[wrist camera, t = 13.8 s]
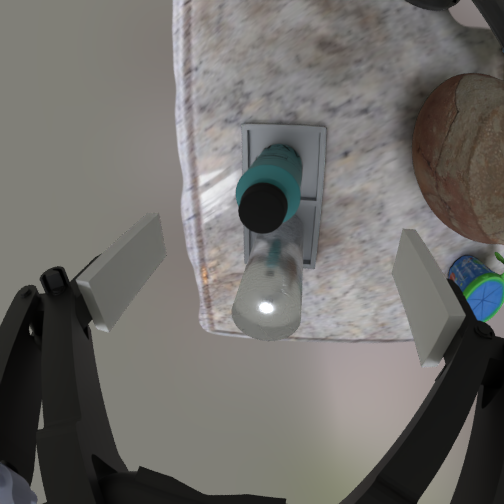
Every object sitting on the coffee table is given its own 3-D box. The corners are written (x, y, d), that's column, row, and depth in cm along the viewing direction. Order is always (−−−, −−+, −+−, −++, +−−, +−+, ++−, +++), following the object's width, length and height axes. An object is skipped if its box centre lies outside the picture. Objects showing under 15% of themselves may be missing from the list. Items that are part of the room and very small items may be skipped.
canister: (305, 211, 43) (304, 292, 26) (302, 251, 47) (297, 343, 30) (259, 208, 44) (229, 286, 27) (259, 248, 48) (233, 337, 31)
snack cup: (483, 227, 39) (510, 255, 30) (497, 264, 42) (521, 293, 33) (422, 277, 46) (439, 313, 38) (442, 308, 49) (457, 343, 40)
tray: (325, 126, 37) (326, 127, 35) (314, 261, 48) (314, 268, 46) (244, 123, 39) (241, 124, 37) (247, 256, 50) (244, 263, 48)
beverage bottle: (308, 176, 41) (313, 238, 23) (266, 189, 43) (239, 257, 26) (294, 134, 38) (288, 163, 21) (250, 149, 40) (209, 190, 23)
